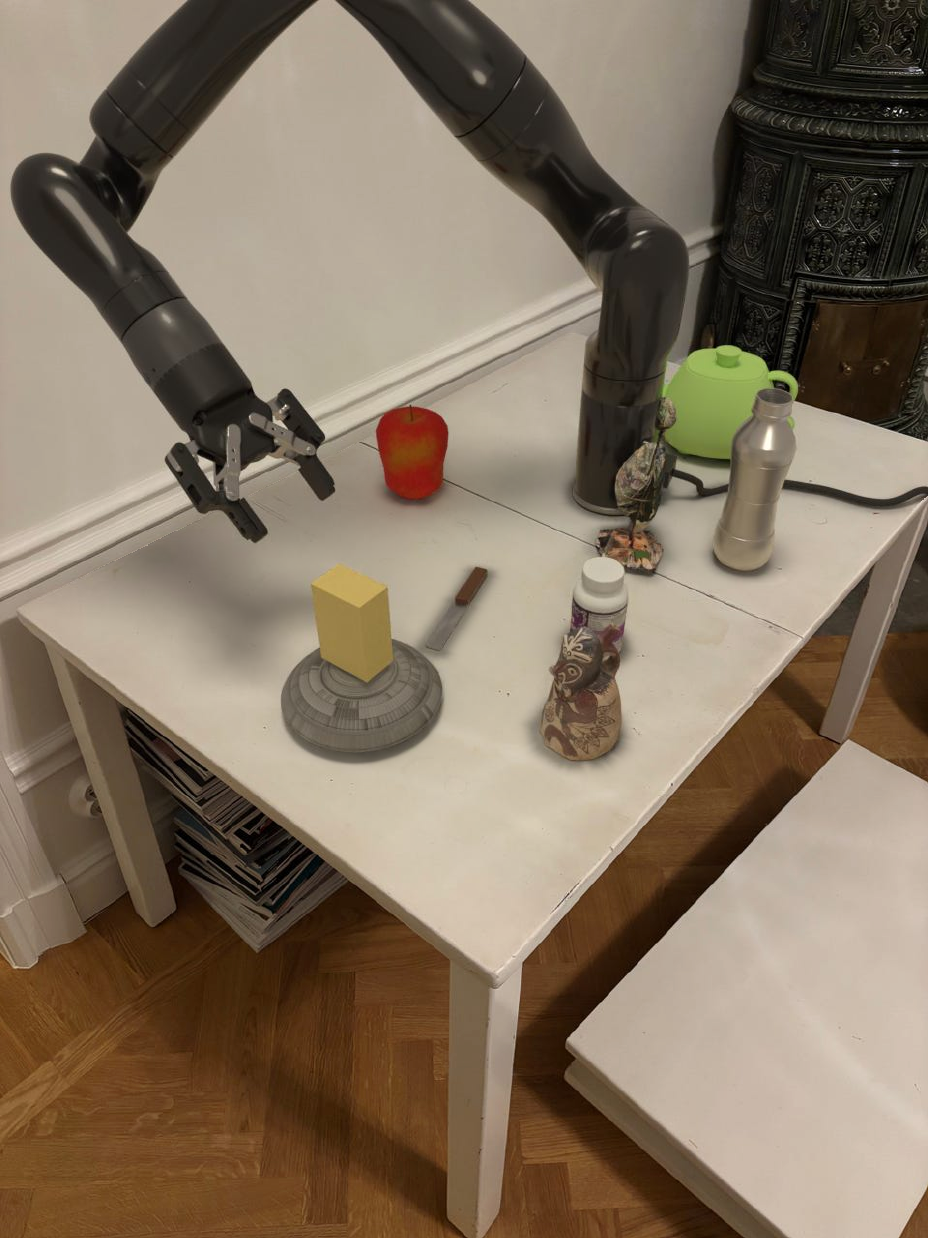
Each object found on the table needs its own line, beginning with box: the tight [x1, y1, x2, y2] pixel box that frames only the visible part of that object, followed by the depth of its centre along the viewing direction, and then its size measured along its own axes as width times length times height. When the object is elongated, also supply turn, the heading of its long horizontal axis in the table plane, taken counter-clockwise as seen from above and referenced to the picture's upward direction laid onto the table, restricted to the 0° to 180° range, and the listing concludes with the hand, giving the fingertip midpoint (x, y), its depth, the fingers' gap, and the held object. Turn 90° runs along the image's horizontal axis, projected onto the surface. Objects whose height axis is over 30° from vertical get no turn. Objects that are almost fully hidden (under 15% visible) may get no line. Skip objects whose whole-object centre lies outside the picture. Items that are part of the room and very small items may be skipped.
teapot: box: [662, 344, 799, 461], centre depth 123 cm, size 22×15×13 cm
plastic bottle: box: [712, 387, 797, 572], centre depth 99 cm, size 6×7×20 cm
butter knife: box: [425, 566, 488, 651], centre depth 99 cm, size 14×2×1 cm, turn 158°
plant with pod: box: [595, 396, 677, 574], centre depth 101 cm, size 8×11×20 cm
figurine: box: [539, 623, 623, 761], centre depth 82 cm, size 7×7×12 cm
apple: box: [375, 404, 450, 501], centre depth 114 cm, size 9×8×12 cm
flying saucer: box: [280, 638, 443, 753], centre depth 87 cm, size 15×15×6 cm
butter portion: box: [310, 563, 393, 682], centre depth 82 cm, size 4×6×8 cm, turn 53°
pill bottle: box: [569, 556, 630, 661], centre depth 92 cm, size 5×5×10 cm
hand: (296, 516), depth 85 cm, fingers open, 8 cm apart
